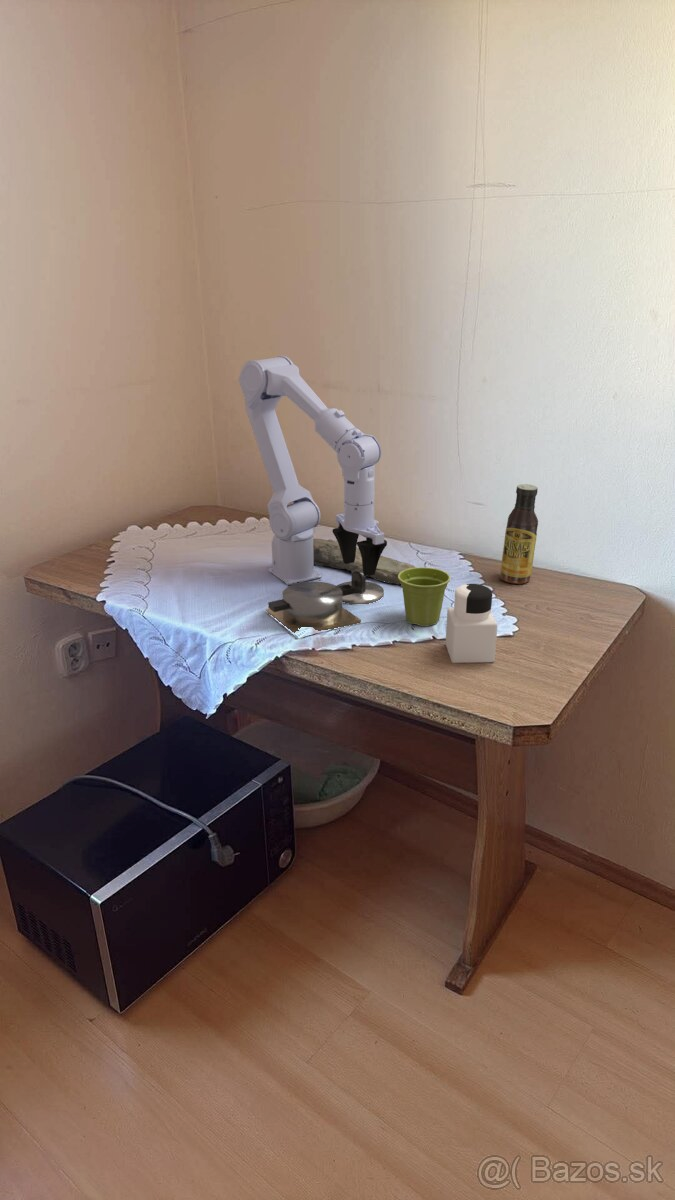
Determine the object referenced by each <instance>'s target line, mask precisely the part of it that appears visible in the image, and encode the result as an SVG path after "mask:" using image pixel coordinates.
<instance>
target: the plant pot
mask: <svg viewBox="0 0 675 1200" xmlns="http://www.w3.org/2000/svg"><path fill="white" fill-rule="evenodd" d="M398 579H399V581H400V583H401V585H400V586H401V588H402V595H403V597H402V598H403V605H404V614H405V619H406V622H408V623H409V622H410V624H411V625H414V624H415V625H418V626H419V627H428V626H433V625H436V624H437V623H438V622H439V621H440V617H441V613H442V607H443V602H444V596H445V591H446V589H447V588H448V584H449V583H450V582H451V575H450V574H449V573H448V572H447V571H444V570H442V569H439V568H434V567H427V566H426V567H425V566H424V567H420V566H419V567H417V566H416V568H409V569H406V570H403V571H401V572H400V573H399V574H398Z"/></svg>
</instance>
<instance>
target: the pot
mask: <svg viewBox="0 0 675 1200" xmlns="http://www.w3.org/2000/svg"><path fill="white" fill-rule="evenodd" d="M350 594H355V588H353V587H352V586H350V585H349V584H347V585H343V586H339V587H338V586H337V585H335V584H333V583H329V582H324V581H313V580H309V581H303V582H299V583H294V584H289V586H287V587H285V588H284V589H283V591H282V594H281V596H282V599H277V600H273V601H269V602H268V603H267V605H268V608H267V609H265V612H266V611H267V612H268V613H269V614H270V615H272V616H273V617H274V618H276V619H277V620H278V621H279V622H281V623H282V624H283V625H284V626H286V627H287V628H288V629H290V630H291V631H292V632H294V633H295V632H296V631H299V630H298V628H299V629H300V628H301V627H313V628H314V629H315V630H318V631H321V630H328V629H334V628H338V627H343V628H345V627H344V626H347V627H350V626H349V625H351V626H354V625H353V624H355V625H358V624H357V623H359V624H361V623H362V620H361V618H359V617H358V616H356V615H354V614H353V613H352V612H351V611H349V610H348V609H346V608H344V606H343V603H342V596H346V595H350ZM270 615H269V616H270ZM360 622H361V623H360Z"/></svg>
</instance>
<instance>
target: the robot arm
mask: <svg viewBox="0 0 675 1200" xmlns="http://www.w3.org/2000/svg"><path fill="white" fill-rule="evenodd" d="M240 370H241V371H240V373H239V376H238V382H239V385H240V389H241V391H242V395H243V397H244V404H245V405H244V406H245V411H246V414H247V417H248V421H249V423H250V424H249V425H250V427H251V430H252V432H253V435H254V438H255V441H256V445H257V448H258V450H259V453H260V457H261V459H262V463H263V465H264V469H265V472H266V474H267V477H268V481H269V484H270V486H271V490H272V492H273V494H272V496H271V498H270V500H269V502H268V503H267V510H268V515H269V526H270V529H271V531H272V533H273V535H274V536H273V537H272V539H271V559H272V560H271V561H272V564H271V565H272V567H268V572H270V573H271V574H273V575H274V576H276V577H277V578H278V579H280V580H281V581H282V582H284V583H285V584H286V585H293V583H294V584H296V583H297V582H299V583H301V582H309V581H313V580H317V579H321V578H322V577H323V575H322V574H321V573H319V572H317V571H316V570H314V567H315V566H314V565H315V563H314V557H313V538H314V534H315V533H316V527H318V526H319V524H320V523H321V516H322V515H321V511H320V507H319V506H318V505H317V503H316V501H314V499H313V496H312V494H311V491H310V490H308V489H306V488H305V487H303V486H301V485H300V482H299V480H298V477H297V474H296V470H295V467H294V464H293V462H292V458H291V455H290V452H289V449H288V445H287V443H286V439H285V437H284V434H283V430H282V428H281V425H280V422H279V419H278V415H277V412H276V408H277V406H278V403H279V402H280V401H281V399H282V398H283V397H287V398H288V399H289V400H290V401H291V402H292V403H294V404H295V406H296V407H298V408H299V409H300V410H302V412H304V414H306V415H307V416H308V417H310V418H311V420H313V421H314V431H315V432H316V433H317V434H318V435H319V436H320V437H321V438H322V439H323V440H324V441H325V443H326V444H328V445H329V447H331V449H332V450H333V451H335V452H336V458H337V462H338V465H339V466H340V468H341V470H342V478H343V486H344V487H343V489H344V490H343V495H344V496H343V509H344V510H343V511H344V512H343V513H339V514H336V515H335V524H336V525H337V526H338V527H334V528H332V531H331V532H332V534H333V535H334V537H335V539H336V541H338V544H339V547H340V550H341V554H342V558H343V562H344V564H349V563H353V562H354V561H355V556H356V547H357V548H359V550H360V553H361V557H362V566H363V573H364V576H366V577H369V576H370V575H375V572H376V568H377V564H378V561H379V558H380V556H382V554H383V551H384V550H385V548H386V546H387V545H388V541H387V540H386V539H385V532H383V531H381V529H380V528H379V527H378V526H379V525H380V523H379V522H380V521H378V520H377V519H375V496H376V495H375V490H376V489H375V484H376V483H375V478H376V475H375V473H376V466H375V465H376V464H377V463H379V461H380V459H381V457H382V449H381V445H380V443H379V441H378V440H377V438H376V437H375V435H372V434H368V433H367V434H366V433H364V432H362V431H361V430H360V428H357V427H356V426H355V425H354V424H353V423H352V422H351V421H350V420H349V419H348V418H347V417H346V414H345V412H344V411H343V410H342V409H338V408H336V407H335V408H333V407H332V408H331V407H330V408H328V407H327V406H326V404H325V403H324V402H323V401H322V400H321V398H320V397H319V396H318V395H317V394H316V392H315V391H314V390H313V389H312V388H311V387H310V386H309V384H308V383H307V382H306V381H305V379H304V378H303V377H302V376H301V375H300V368H299V367H298V366H297V365H296V364H294V363H293V361H292V360H291V359H290V358H289V357H288V356H286V355H279V356H276V357H271V358H270V357H269V358H263V359H258V360H257V359H256V360H255V359H251V360H247V361H245V363H244V364H243V366H242V367H241V369H240ZM290 503H291V504H290ZM360 536H362V537H364V538H365V540H360V541H358V539H359V537H360Z"/></svg>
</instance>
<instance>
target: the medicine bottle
mask: <svg viewBox="0 0 675 1200" xmlns="http://www.w3.org/2000/svg"><path fill="white" fill-rule="evenodd" d="M453 603H454V604H453V606H452V607H451V606H450V607H447V610H446V611H447V613H446V628H445V646H446V649H447V652H448V654H449V658H450V660H451V663H452V664H466V663H470V664H471V663H472V664H474V663H477V664H478V663H494V662H495V658H496V647H497V635H498V622H497V620H496V618H495V616H494V615H493V612H492V603H493V591H492V590H491V588H489V587H487V586H486V585H483V584H480V583H466V584H462V585H459V586H458V587H456V588H455V590H454V602H453Z"/></svg>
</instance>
